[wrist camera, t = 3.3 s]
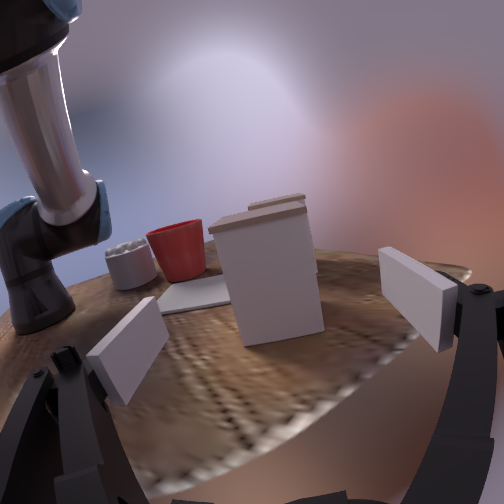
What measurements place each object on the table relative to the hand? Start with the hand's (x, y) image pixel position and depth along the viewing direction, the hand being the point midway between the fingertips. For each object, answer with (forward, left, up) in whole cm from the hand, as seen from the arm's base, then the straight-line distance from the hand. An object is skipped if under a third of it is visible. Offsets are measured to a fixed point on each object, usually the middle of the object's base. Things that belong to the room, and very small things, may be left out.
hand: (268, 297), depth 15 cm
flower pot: (-17, +35, -7) cm, 39 cm away
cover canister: (0, +10, -7) cm, 12 cm away
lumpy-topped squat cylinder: (-31, +39, -7) cm, 50 cm away
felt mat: (-12, +23, -7) cm, 27 cm away
